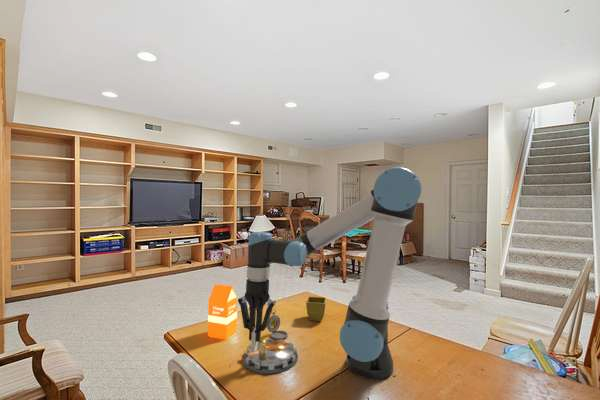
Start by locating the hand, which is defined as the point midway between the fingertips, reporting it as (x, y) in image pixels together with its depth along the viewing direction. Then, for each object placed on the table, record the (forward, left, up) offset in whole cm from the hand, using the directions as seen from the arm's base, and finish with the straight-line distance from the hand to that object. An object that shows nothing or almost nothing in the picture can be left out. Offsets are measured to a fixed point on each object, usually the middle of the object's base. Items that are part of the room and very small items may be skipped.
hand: (254, 350), depth 95 cm
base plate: (0, -7, -5) cm, 9 cm away
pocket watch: (+11, -20, -5) cm, 23 cm away
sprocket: (0, -7, -5) cm, 9 cm away
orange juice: (+28, -5, -5) cm, 29 cm away
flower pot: (+11, -44, -5) cm, 45 cm away
